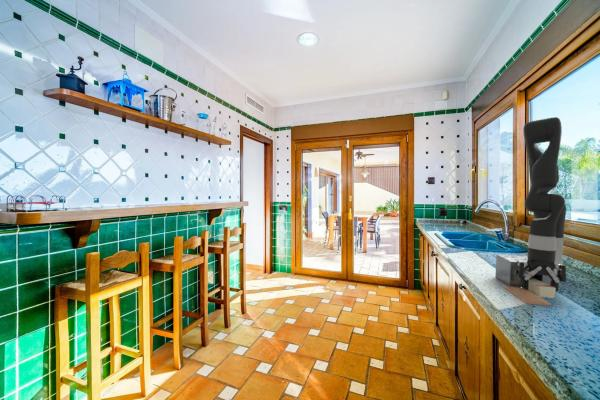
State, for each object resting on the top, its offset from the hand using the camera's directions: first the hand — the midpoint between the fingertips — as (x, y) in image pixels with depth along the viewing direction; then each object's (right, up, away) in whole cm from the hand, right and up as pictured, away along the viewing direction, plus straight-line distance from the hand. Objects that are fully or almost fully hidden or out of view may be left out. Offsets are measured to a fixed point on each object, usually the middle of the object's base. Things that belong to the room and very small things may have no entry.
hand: (539, 290), depth 96 cm
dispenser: (+3, -1, +11) cm, 11 cm away
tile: (-7, -1, -2) cm, 7 cm away
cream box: (+1, -2, +3) cm, 3 cm away
